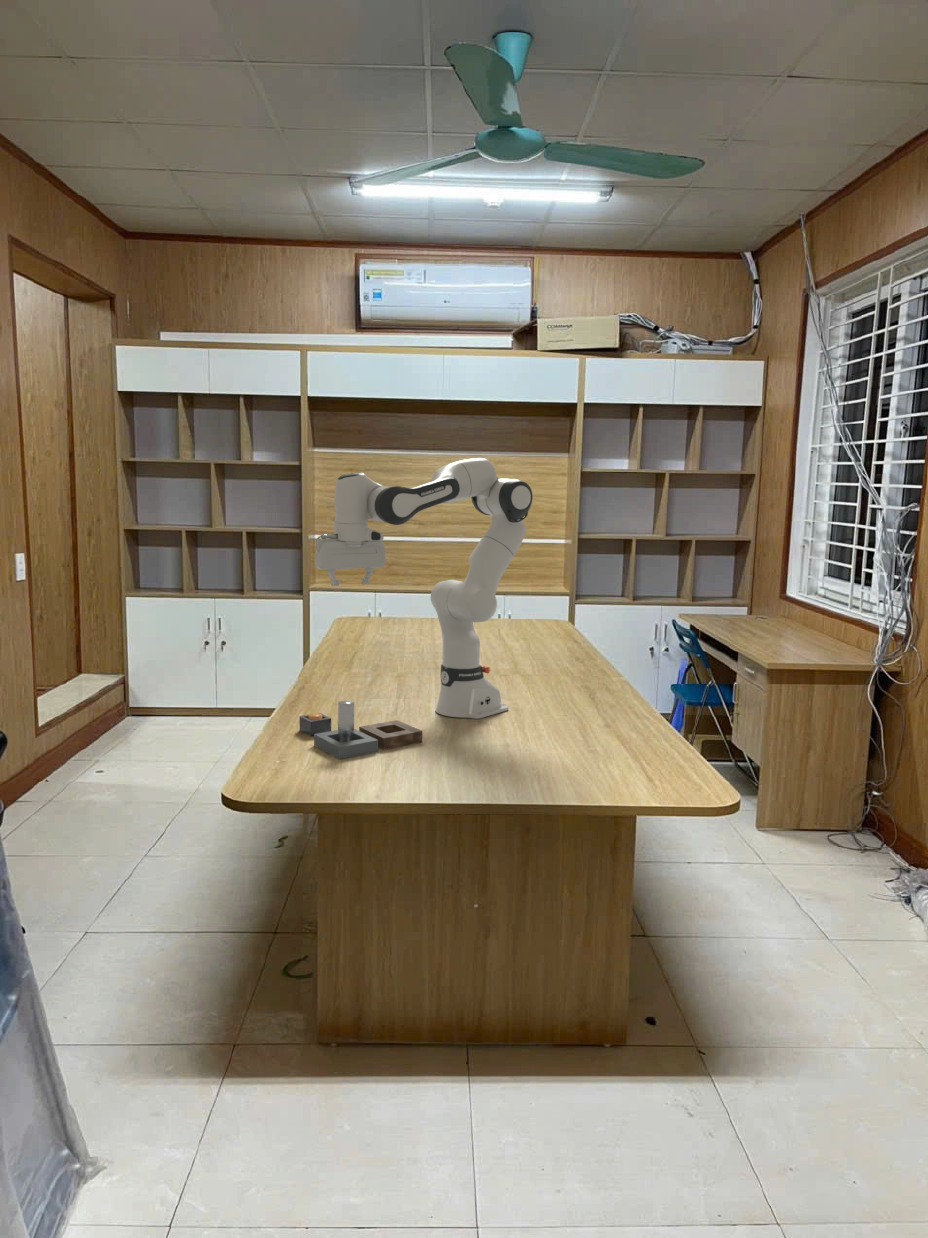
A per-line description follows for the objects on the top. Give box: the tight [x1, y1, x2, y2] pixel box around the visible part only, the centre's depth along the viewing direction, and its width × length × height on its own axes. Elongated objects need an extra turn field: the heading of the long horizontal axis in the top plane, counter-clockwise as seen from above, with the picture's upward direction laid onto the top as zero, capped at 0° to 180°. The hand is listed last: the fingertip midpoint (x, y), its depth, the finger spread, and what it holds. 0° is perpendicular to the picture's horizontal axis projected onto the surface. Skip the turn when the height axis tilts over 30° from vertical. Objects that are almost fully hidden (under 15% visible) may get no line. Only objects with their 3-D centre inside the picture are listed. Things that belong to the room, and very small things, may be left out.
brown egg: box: [308, 713, 322, 720], centre depth 227 cm, size 4×4×4 cm
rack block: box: [313, 728, 379, 760], centre depth 214 cm, size 11×13×3 cm
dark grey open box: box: [299, 712, 332, 737], centre depth 228 cm, size 6×6×4 cm
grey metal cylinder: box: [337, 700, 355, 743], centre depth 214 cm, size 4×4×12 cm
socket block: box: [358, 720, 424, 750], centre depth 222 cm, size 12×12×3 cm
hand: (350, 585), depth 229 cm, fingers open, 8 cm apart
